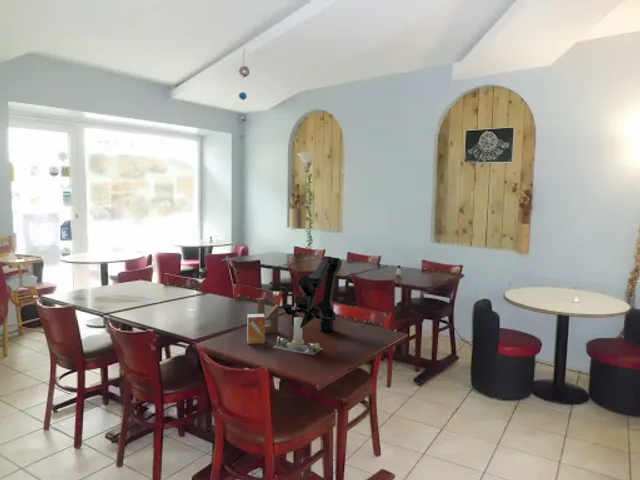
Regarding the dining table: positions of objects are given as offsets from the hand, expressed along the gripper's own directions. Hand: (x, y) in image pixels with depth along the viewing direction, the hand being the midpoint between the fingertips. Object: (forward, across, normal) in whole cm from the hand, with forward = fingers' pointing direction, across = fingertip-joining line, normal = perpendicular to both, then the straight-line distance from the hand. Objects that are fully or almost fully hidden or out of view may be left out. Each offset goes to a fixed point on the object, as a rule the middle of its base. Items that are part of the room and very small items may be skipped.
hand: (296, 326), depth 215 cm
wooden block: (-4, -26, +19) cm, 33 cm away
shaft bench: (+7, 0, +8) cm, 11 cm away
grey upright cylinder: (+5, 0, +7) cm, 8 cm away
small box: (+7, -23, +8) cm, 25 cm away
